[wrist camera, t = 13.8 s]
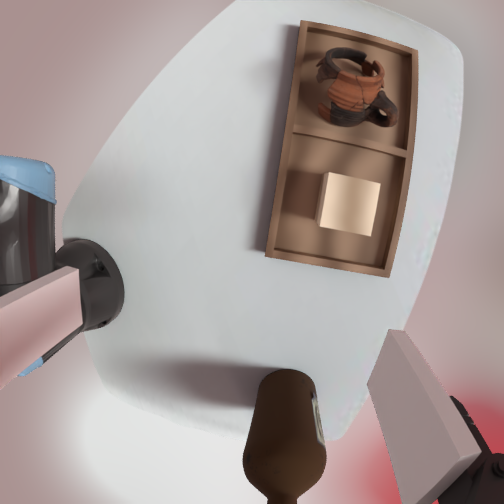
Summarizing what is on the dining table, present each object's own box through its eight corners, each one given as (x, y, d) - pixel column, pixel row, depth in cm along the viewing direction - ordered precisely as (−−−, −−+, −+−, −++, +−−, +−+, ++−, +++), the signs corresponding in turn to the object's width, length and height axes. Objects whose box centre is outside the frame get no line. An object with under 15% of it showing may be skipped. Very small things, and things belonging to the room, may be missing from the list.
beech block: (314, 219, 37) (319, 226, 31) (322, 174, 36) (329, 172, 30) (358, 228, 37) (370, 236, 31) (366, 183, 35) (380, 183, 29)
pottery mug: (295, 106, 34) (302, 58, 27) (332, 78, 36) (343, 35, 29) (372, 158, 32) (397, 114, 24) (401, 122, 34) (423, 83, 26)
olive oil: (256, 411, 46) (235, 533, 22) (253, 365, 44) (225, 501, 20) (316, 411, 45) (323, 534, 21) (321, 364, 43) (338, 502, 18)
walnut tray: (265, 252, 39) (264, 256, 37) (300, 27, 31) (300, 20, 29) (384, 273, 38) (389, 277, 36) (412, 55, 30) (418, 50, 28)
